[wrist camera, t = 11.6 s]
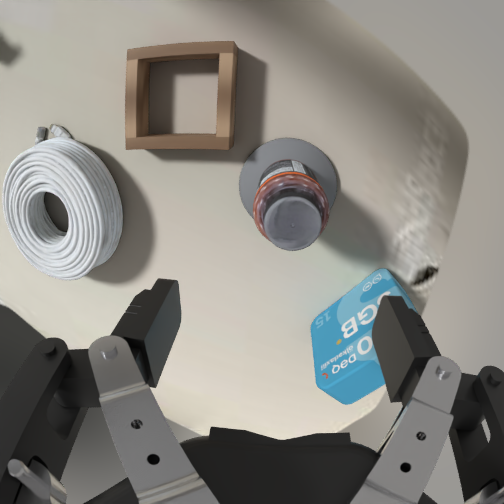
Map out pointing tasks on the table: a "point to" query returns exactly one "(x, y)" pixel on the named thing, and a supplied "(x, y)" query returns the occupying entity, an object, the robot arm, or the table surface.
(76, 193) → the cable
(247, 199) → the felt coaster
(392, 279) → the data package
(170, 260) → the table surface
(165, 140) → the walnut holder
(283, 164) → the supplement bottle
